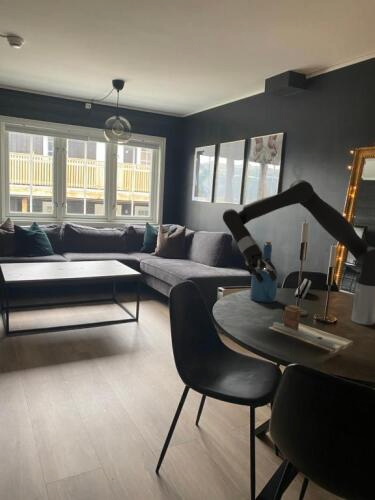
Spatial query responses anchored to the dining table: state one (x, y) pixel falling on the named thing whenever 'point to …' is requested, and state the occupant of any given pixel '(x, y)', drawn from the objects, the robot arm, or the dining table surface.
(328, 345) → the rail
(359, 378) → the dining table surface
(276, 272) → the wine bottle
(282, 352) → the dining table surface
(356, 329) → the dining table surface
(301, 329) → the board
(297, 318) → the brown squarish block
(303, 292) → the hinge
